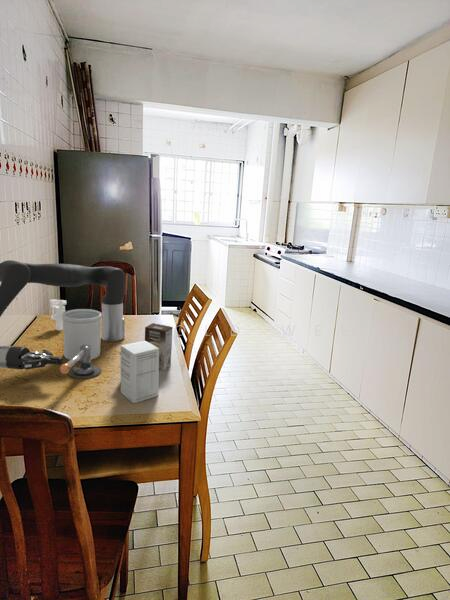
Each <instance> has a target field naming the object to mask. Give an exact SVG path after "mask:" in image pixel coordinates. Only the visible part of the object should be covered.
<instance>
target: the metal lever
mask: <svg viewBox="0 0 450 600" xmlns="http://www.w3.org/2000/svg"><path fill="white" fill-rule="evenodd" d="M79 360H80V361H79ZM78 362H80V363H79V364H77V363H78ZM75 364H77V365H76V366H74V365H75ZM73 366H74V367H73ZM95 366H96V365H93V364H92V359H91V346H90V345H82V346H80V352H79V353H78V354H77V355H75V356H74V357H73V358H72V359H71V360H68V361H67V362H66V363H62V364H60V365H59V371H60V373H61V374H68V373H70V371H71V368H72V367H73V368H74V374H76V375H79V376H86V375H91V374H93V373H94V372H95Z"/></svg>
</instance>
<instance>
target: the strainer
mask: <svg viewBox="0 0 450 600" xmlns="http://www.w3.org/2000/svg"><path fill="white" fill-rule="evenodd" d="M49 301H50V304H49V305H50V308H52V309H51V310H52V312H51V313H52V315H51V316H50V320H52V321H55V331H58V332H59V331H63V319H62V314H63V313H64V312H66V305H67V300H66V299H65V300H64V299H56V298H55V299H50V300H49Z"/></svg>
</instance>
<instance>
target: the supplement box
mask: <svg viewBox="0 0 450 600" xmlns="http://www.w3.org/2000/svg"><path fill="white" fill-rule="evenodd" d="M120 352H121V355H120V394H122V395H123V396H124V397H125V398H126V399H127V400H129V402H131V403H132V404H136V403H140V402H143V401H145V400H149V399H152V398H155V397H158V396H159V383H160V382H159V379H160V378H159V376H160V372H159V371H160V370H159V348H157V347H156V346H154V345H152V344H150V343H149V342H147V341H145V340H143V341H142V340H141V341H136V342H132V343H131V342H130V343H126V344H121V345H120Z"/></svg>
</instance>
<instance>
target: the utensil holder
mask: <svg viewBox="0 0 450 600" xmlns="http://www.w3.org/2000/svg"><path fill="white" fill-rule="evenodd" d="M62 319H63V330H62V334H63V335H62V336H63V355H64V358H65V359H67V360H68V361H70V360H71V359H72V358H73V357H74V356H75V355H77V354H78V353H79V352H80V346H82V345H90V346H91V360H93V359H96V358H98V357H99V356H100V354H101V339H102V311H98V310H96V309H90V308H75V309H70V310H65V312H64V313H63V314H62ZM78 362H80V360H79V361H78Z"/></svg>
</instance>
